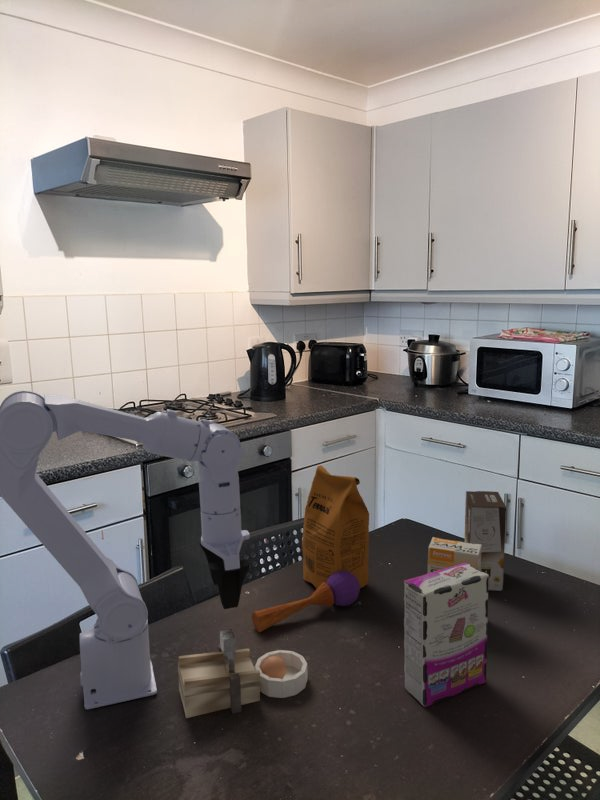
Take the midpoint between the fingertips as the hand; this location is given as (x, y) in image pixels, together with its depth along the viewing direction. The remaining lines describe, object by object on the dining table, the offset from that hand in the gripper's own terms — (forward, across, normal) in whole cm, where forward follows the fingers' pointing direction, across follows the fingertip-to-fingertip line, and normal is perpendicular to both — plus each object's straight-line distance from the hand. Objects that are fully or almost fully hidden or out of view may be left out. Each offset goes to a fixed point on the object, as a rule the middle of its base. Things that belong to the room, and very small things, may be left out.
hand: (225, 594), depth 91 cm
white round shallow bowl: (+10, -8, -6) cm, 14 cm away
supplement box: (+11, -1, -38) cm, 39 cm away
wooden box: (+10, -8, +3) cm, 14 cm away
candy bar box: (+11, -16, -27) cm, 34 cm away
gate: (+7, -8, +1) cm, 11 cm away
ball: (+8, -8, -5) cm, 13 cm away
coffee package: (+11, +17, -24) cm, 31 cm away
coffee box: (+11, +9, -51) cm, 53 cm away
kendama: (+11, +8, -16) cm, 21 cm away
